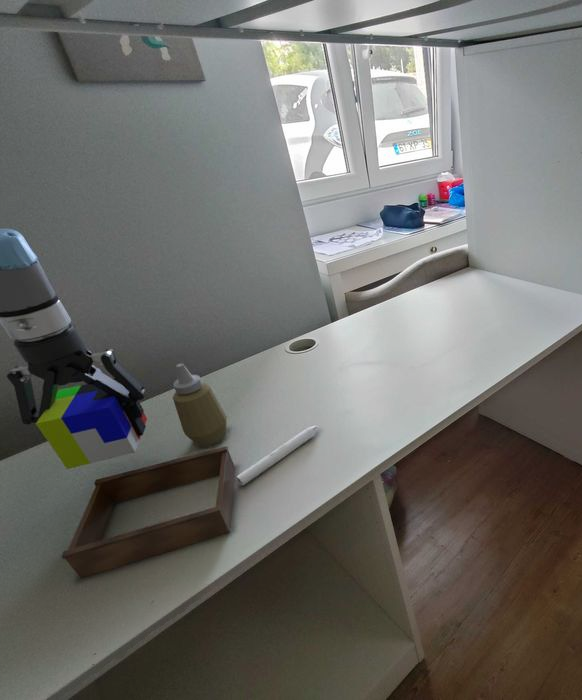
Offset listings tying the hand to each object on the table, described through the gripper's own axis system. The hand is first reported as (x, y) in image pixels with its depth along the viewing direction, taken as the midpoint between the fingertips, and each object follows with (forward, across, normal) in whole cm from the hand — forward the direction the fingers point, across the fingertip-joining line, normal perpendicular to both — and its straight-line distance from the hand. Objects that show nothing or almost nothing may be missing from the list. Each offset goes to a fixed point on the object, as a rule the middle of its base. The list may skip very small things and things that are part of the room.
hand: (108, 439), depth 80 cm
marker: (+9, +28, -7) cm, 30 cm away
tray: (+9, +9, -14) cm, 19 cm away
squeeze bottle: (+9, +14, +5) cm, 17 cm away
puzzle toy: (+1, 0, 0) cm, 1 cm away
